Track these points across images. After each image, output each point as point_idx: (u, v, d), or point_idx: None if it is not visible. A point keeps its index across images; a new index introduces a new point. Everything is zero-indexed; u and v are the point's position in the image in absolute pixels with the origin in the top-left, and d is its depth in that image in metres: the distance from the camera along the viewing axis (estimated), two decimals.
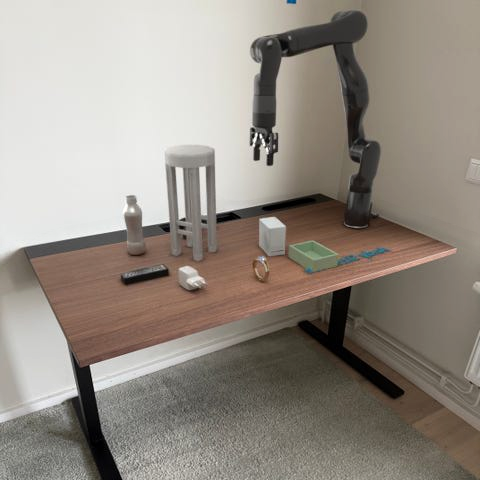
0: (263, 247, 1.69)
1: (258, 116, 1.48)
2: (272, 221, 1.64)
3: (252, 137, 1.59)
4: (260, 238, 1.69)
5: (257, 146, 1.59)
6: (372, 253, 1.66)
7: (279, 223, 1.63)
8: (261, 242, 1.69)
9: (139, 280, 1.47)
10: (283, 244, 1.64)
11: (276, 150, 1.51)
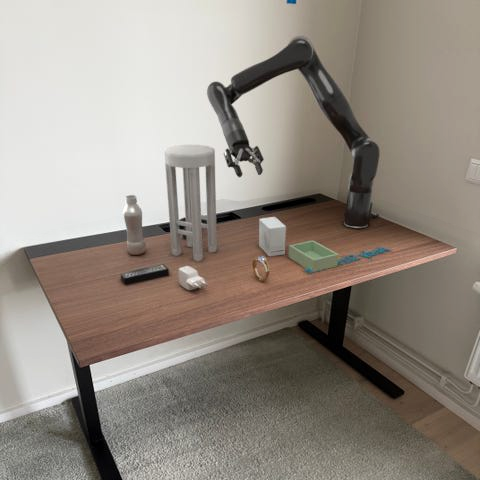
0: (263, 247, 1.69)
1: None
2: (272, 221, 1.64)
3: (255, 156, 1.74)
4: (260, 238, 1.69)
5: (256, 162, 1.72)
6: (372, 253, 1.66)
7: (279, 223, 1.63)
8: (261, 242, 1.69)
9: (139, 280, 1.47)
10: (283, 244, 1.64)
11: (229, 162, 1.66)
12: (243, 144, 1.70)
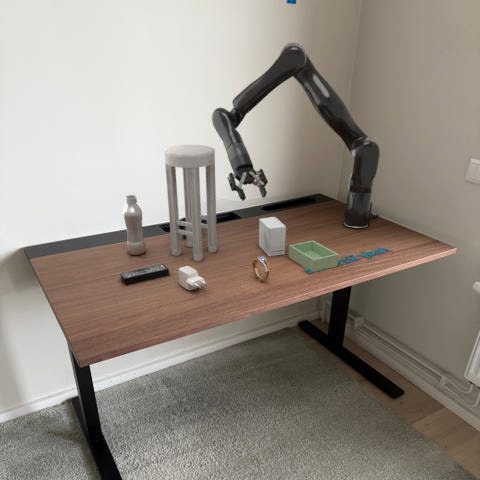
0: (263, 247, 1.69)
1: None
2: (272, 221, 1.64)
3: (260, 179, 1.75)
4: (260, 238, 1.69)
5: (260, 185, 1.73)
6: (372, 253, 1.66)
7: (279, 223, 1.63)
8: (261, 242, 1.69)
9: (139, 280, 1.47)
10: (283, 244, 1.64)
11: (233, 186, 1.68)
12: (247, 168, 1.72)
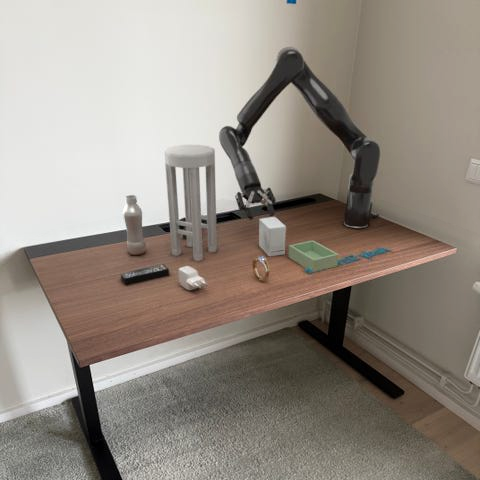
0: (263, 247, 1.69)
1: None
2: (272, 221, 1.64)
3: (268, 198, 1.74)
4: (260, 238, 1.69)
5: (268, 203, 1.72)
6: (373, 253, 1.66)
7: (279, 223, 1.63)
8: (261, 242, 1.69)
9: (139, 280, 1.47)
10: (283, 244, 1.64)
11: (240, 206, 1.67)
12: (255, 186, 1.70)
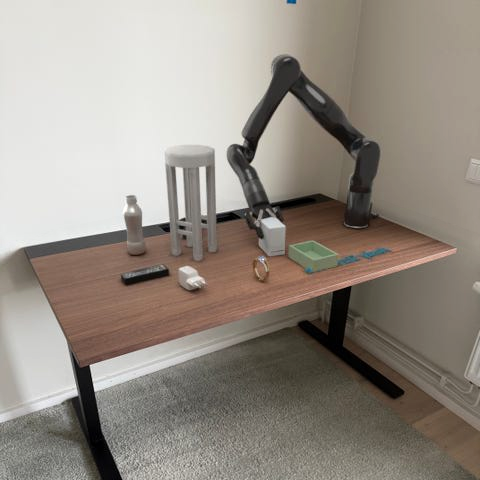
0: (262, 247, 1.69)
1: None
2: (272, 221, 1.64)
3: (276, 216, 1.72)
4: None
5: None
6: (373, 253, 1.66)
7: (279, 223, 1.63)
8: (261, 242, 1.69)
9: (139, 280, 1.47)
10: (283, 244, 1.64)
11: (250, 225, 1.65)
12: (263, 204, 1.69)
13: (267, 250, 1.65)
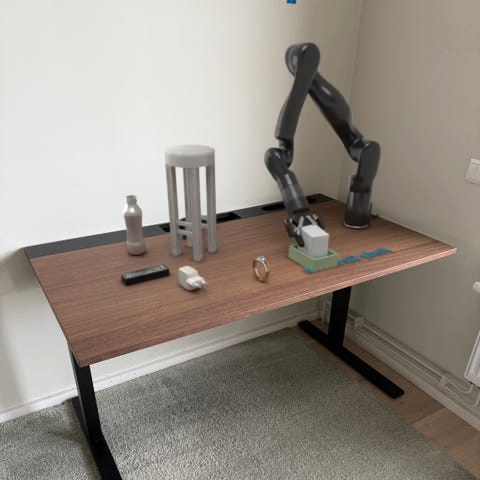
0: None
1: None
2: (314, 229, 1.55)
3: (316, 223, 1.63)
4: (299, 247, 1.61)
5: None
6: (373, 254, 1.66)
7: (321, 231, 1.54)
8: None
9: (140, 281, 1.47)
10: (325, 253, 1.55)
11: (291, 233, 1.56)
12: (304, 211, 1.60)
13: None
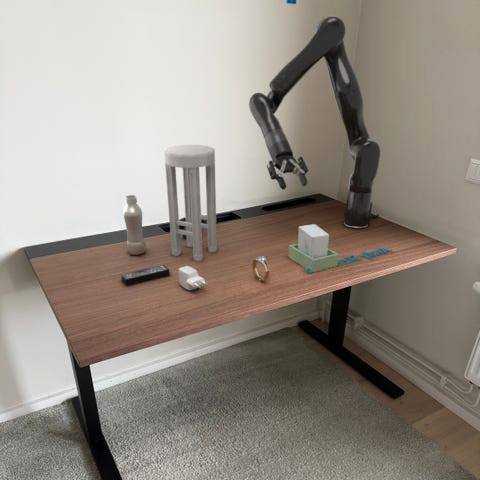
0: None
1: None
2: (313, 229, 1.55)
3: (300, 167, 1.68)
4: (299, 247, 1.61)
5: (300, 173, 1.66)
6: (374, 254, 1.66)
7: (321, 231, 1.54)
8: None
9: (140, 281, 1.47)
10: (325, 253, 1.55)
11: (273, 175, 1.61)
12: (287, 155, 1.64)
13: None
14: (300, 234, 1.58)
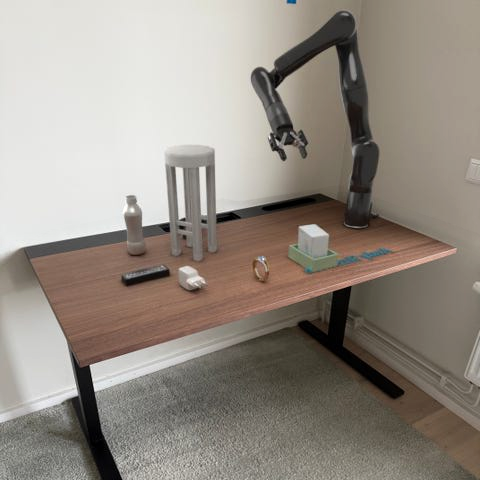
0: None
1: None
2: (313, 229, 1.55)
3: (300, 140, 1.72)
4: (299, 247, 1.61)
5: (300, 146, 1.70)
6: (374, 254, 1.66)
7: (321, 231, 1.54)
8: None
9: (140, 281, 1.46)
10: (325, 253, 1.55)
11: (273, 146, 1.65)
12: (287, 128, 1.68)
13: None
14: (300, 234, 1.58)
